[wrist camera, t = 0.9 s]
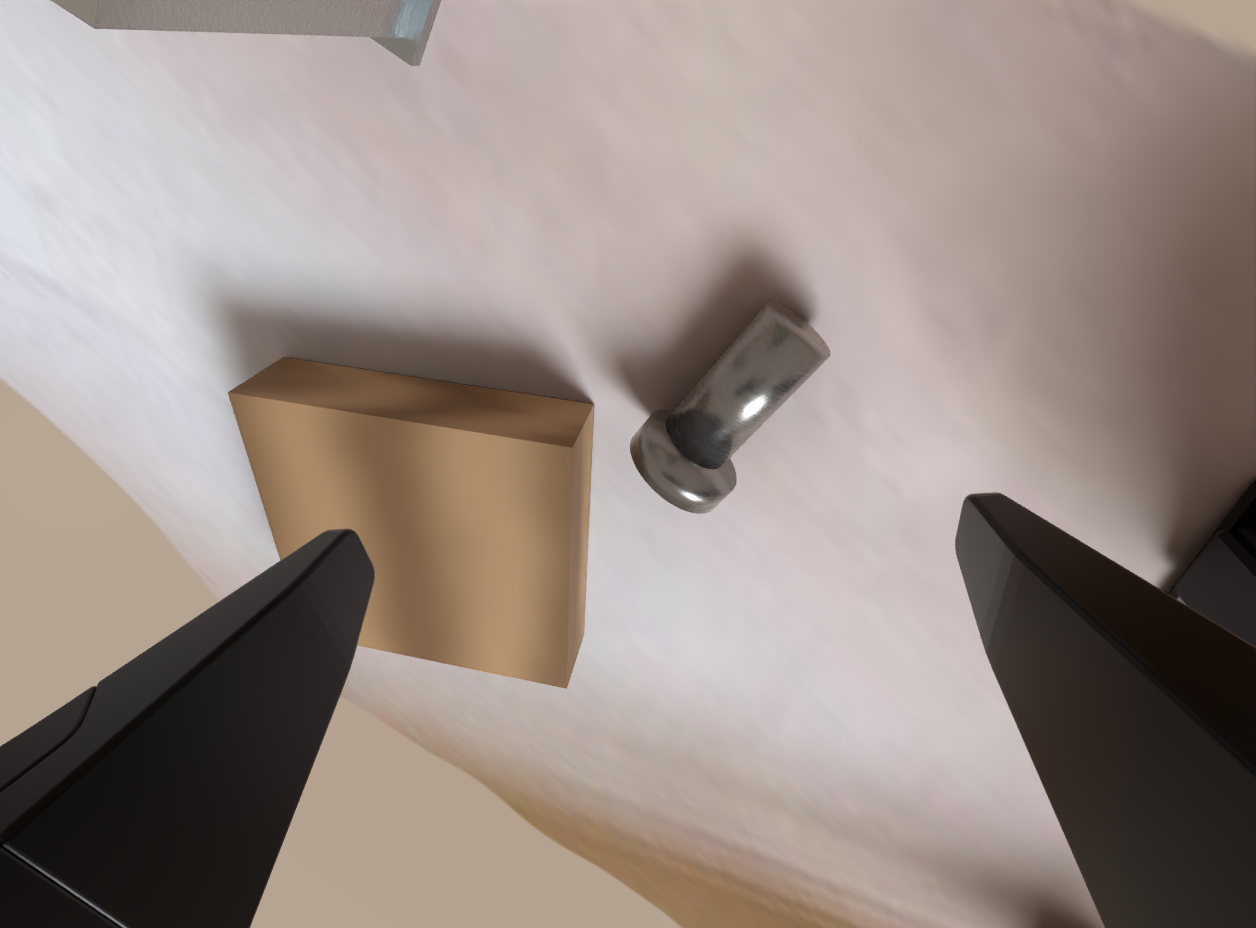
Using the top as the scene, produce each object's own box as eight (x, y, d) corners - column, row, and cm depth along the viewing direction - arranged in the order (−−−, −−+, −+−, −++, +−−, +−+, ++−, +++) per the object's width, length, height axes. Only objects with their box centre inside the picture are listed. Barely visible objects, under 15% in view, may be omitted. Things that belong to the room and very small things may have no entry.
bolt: (752, 279, 19) (748, 320, 16) (842, 348, 20) (853, 401, 17) (640, 414, 23) (620, 469, 20) (721, 470, 23) (713, 532, 20)
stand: (593, 404, 23) (572, 447, 20) (583, 634, 29) (566, 688, 27) (283, 357, 24) (227, 392, 22) (341, 587, 31) (303, 634, 28)
